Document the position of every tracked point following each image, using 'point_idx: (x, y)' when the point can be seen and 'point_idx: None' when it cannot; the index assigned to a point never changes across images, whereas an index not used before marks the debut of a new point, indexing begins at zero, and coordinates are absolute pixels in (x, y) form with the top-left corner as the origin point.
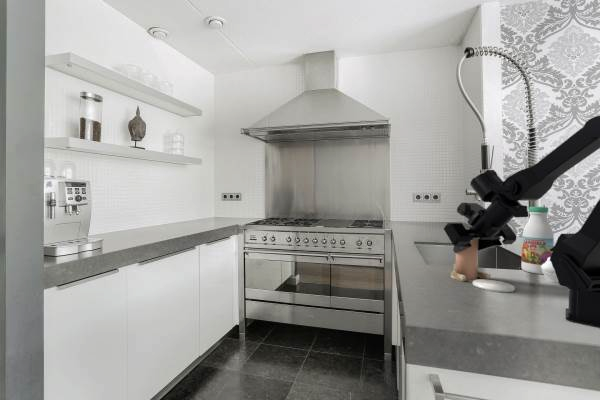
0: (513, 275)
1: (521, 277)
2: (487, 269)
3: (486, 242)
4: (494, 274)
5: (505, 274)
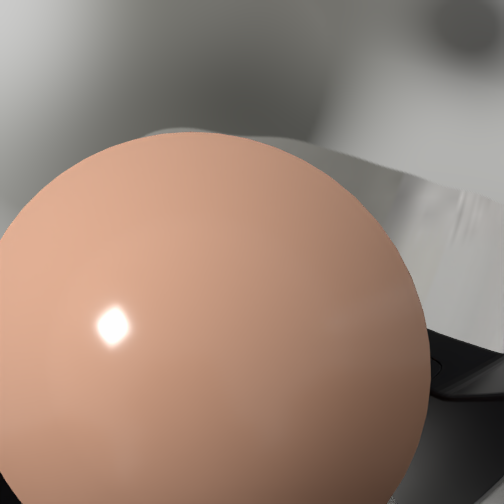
0: (487, 303)
1: (499, 335)
2: (428, 200)
3: (408, 482)
4: (422, 294)
5: (466, 288)
